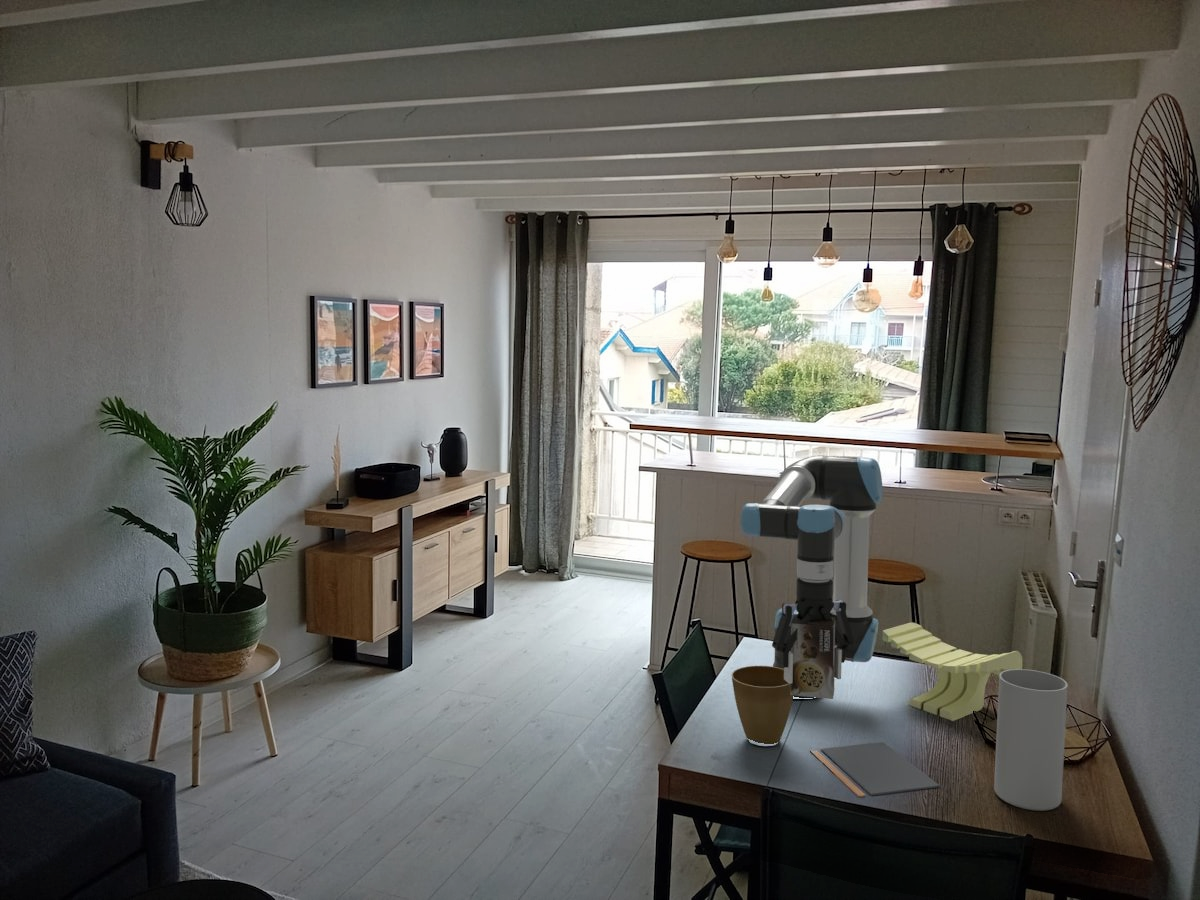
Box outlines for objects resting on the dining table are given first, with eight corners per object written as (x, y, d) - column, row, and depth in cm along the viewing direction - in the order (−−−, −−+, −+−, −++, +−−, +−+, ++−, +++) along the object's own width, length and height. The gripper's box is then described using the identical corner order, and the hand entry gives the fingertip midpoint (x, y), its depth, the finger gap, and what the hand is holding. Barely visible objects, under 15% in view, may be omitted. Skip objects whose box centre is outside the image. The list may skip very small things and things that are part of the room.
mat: (820, 750, 205) (820, 748, 205) (883, 743, 208) (883, 741, 208) (870, 795, 184) (870, 793, 183) (939, 787, 187) (939, 785, 187)
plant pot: (794, 730, 216) (795, 666, 214) (794, 757, 201) (796, 689, 200) (732, 725, 219) (733, 662, 217) (728, 751, 204) (729, 684, 203)
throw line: (809, 751, 204) (809, 750, 204) (815, 750, 205) (815, 749, 204) (858, 797, 183) (858, 795, 183) (865, 796, 183) (865, 794, 183)
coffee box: (834, 689, 192) (836, 616, 191) (833, 700, 186) (835, 625, 184) (791, 684, 195) (793, 613, 193) (789, 695, 189) (790, 621, 187)
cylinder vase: (1006, 777, 192) (1012, 664, 189) (1069, 796, 183) (1075, 679, 181) (984, 797, 183) (989, 680, 180) (1049, 819, 174) (1056, 696, 172)
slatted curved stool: (1019, 717, 224) (1023, 648, 222) (984, 732, 215) (987, 661, 213) (916, 682, 248) (918, 620, 247) (880, 694, 239) (882, 630, 237)
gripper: (771, 586, 182) (769, 690, 184) (873, 579, 187) (870, 681, 189) (756, 577, 189) (755, 677, 192) (855, 571, 194) (852, 668, 196)
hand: (812, 679), depth 190 cm, fingers closed on coffee box, 10 cm apart
